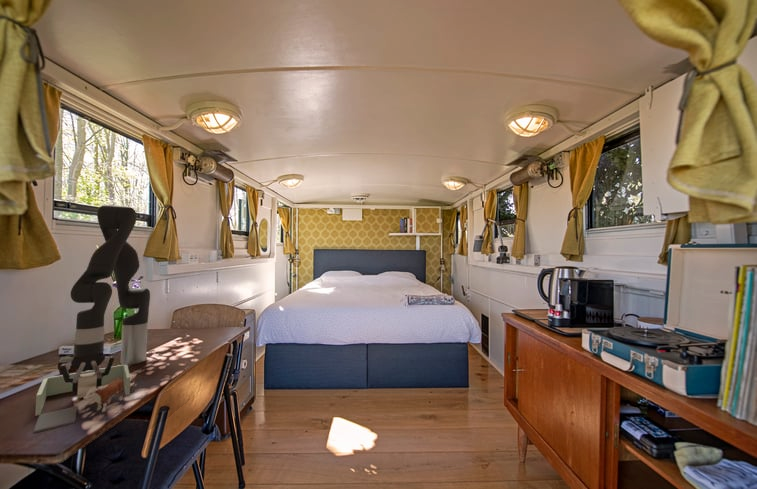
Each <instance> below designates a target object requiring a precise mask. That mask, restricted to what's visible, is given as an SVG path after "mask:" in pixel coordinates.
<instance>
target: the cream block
mask: <svg viewBox="0 0 757 489" xmlns="http://www.w3.org/2000/svg"><path fill="white" fill-rule="evenodd" d="M96 384H97V375H96V373H95V372H93V373H87V374H82V375H80V377H79V378H78V392H77V394H76V397H77V398H76V399H81V398H84V397H85V396H86V394H87V392H88V391H89V390H90V389H91V388H93V387H95V388H96Z"/></svg>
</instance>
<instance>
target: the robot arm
mask: <svg viewBox="0 0 757 489" xmlns="http://www.w3.org/2000/svg"><path fill="white" fill-rule="evenodd" d="M96 214H97V215H96V216H97V218H96V219H97V222H98V225H99V228H100V231H101V233H102V236H103V239H104V241H105V242H104V243H102V244H101V245H100V246H98V248H97V249H95V250H94V251H93V253H92V256H91V258H90V260H89V262H88V265H87V267H86V270H85V271H84V272H83V273H82V274H81V276H80V277H79V278H78V280H76V282H75V283H74V284H73V286H72V288H71V290H70V298H71V300H72V301H73V302H74V303H78V304H86V303H87V304H93V305H92V307H91V308H88V309H83V310H80V311H78V313H77V315H76V323H75V325H76V326H75V327H76V328H75V332H74V340H73V342H74V343H73V354H74V357H73V360H72V361H71V362H69V363H67V364H62V365H61V367H60V369H61V372H62V375H63V378H64V380H65V382H66V383H68V382H71V383H72V384H73V387H72V391H71V393H73V394H74V395H77V392H78V378H79V377H80V375H81V373H82V372H85V371H88V370H90V371H91V370H94V371H95V373H96V375H97V384H96V388H98V387H99V386H102V385H101V383H102V377H103V376H105V375H108V374H109V372H110V369H111V367H112V366H113V363H114V361H115V357H114V355H111V356H106V355H105V353H104V349H105V347H104V346H105V326H104V325H105V314H106V311H107V307H108V305H109V302H110V300H111V298H112V294H113V287H112V286H111V284H110V283H108V282H105V281H103V282H102V281H101V280H104V279H109V278H110V277H111V276H112V274H114V275H113V276H114V279H115V283H116V289H117V291H116V292H117V298H118V304H119V306H120V308H122V309H125V310H131V309H132V310H133V309H134V310H135V309H138V310H137V312H136V313H134V314H132V315H128V316H125V317H123V318H122V321H121V322H122V327H121V346H120V365H124V364H127V365H134V364H135V365H136V364H140V363H143V362H145V361H146V360H147V350H148V349H147V347H148V346H147V345H148V325H149V324H148V323H149V322H148V321H149V312H150V301H151V291H150V289H149V288H146V287H145V288H139V287H138V288H131V287H129V284H130V282H131V280H132V278H134V276H135V275H136V274H137V272H138V271H139V268H140V260H139V255H138V253H137V250H136V249H135V248H134V247H133V246H132V245H131V244H130V243H129V242H127V240H128V239H129V237H130V235H131V234H132V231H133V229H134V227H135V226H136V222H137V212H136V210H135V209H134V207H131V206H125V205H124V206H122V205H112V204H111V205H110V204H104V205H100V207H98V209H97V213H96ZM99 281H100V282H99ZM103 362H105V364H106V366H105V367H104V368H105V371H104V372H101V371H100V366H99V365H101V364H102V363H103ZM71 365H72V366H74V367H75V368H76V369H77V371H76V374H75V376H74V377H70V375H69V372H68V370H69V369H70V366H71Z"/></svg>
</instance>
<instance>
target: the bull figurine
mask: <svg viewBox="0 0 757 489" xmlns="http://www.w3.org/2000/svg"><path fill="white" fill-rule="evenodd" d="M123 389H124V384H123V380H121V379H120V378H117V379H116V380H114V381H112V382H110V383H108V384H106V385H101V386H99V387H98V388H95V387H93V388H91V389H90V390H89V391H88V392H87V394H86V396H85V397H82V398H83V400H84V401H88V400H91V401H94V402H95V403H96V405H97V408H96V412H97V411H101V413H105V412H106V411H107V405H109V404H111V402H112V398H114V397H115V395H118V393H119V398H118V402H121V401H123V398H124V397H123V394H124V391H123ZM102 405H103V406H102Z"/></svg>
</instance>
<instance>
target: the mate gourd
mask: <svg viewBox="0 0 757 489" xmlns="http://www.w3.org/2000/svg"><path fill="white" fill-rule="evenodd" d="M73 357H74V353H73V354H67V355H65V356H62V357H61V358H60V359H59V361H58V364H57V371H58V372H59V375H62V372H61V369H60V367H61V365H62V364H67V363H69V362H71V361H72V360H73ZM76 371H77V369H76V368H75V367H74V366H72V365H71V366H70V369H69V370H68V372H69V374H71V373H76Z"/></svg>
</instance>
